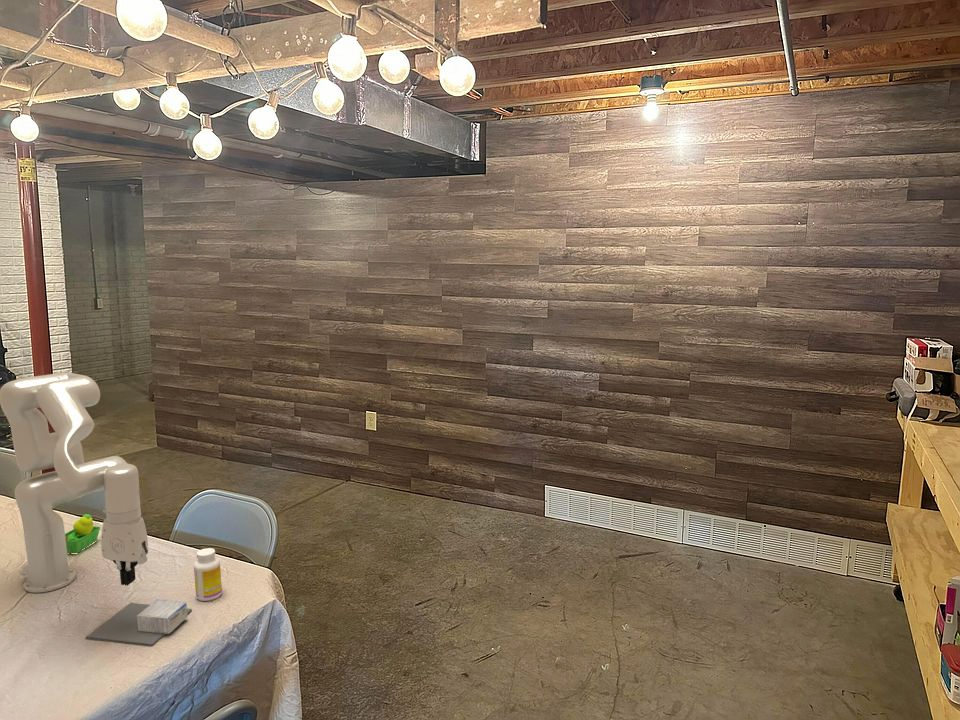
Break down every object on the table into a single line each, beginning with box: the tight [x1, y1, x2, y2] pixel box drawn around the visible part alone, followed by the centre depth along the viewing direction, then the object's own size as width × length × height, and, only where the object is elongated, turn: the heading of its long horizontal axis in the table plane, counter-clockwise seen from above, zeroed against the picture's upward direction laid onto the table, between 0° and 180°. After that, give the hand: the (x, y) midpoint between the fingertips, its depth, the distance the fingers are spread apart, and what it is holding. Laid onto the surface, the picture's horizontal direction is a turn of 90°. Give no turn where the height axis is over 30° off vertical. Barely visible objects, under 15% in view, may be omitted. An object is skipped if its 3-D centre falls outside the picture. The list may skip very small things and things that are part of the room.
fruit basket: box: [65, 513, 101, 554], centre depth 211 cm, size 11×9×11 cm
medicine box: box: [137, 598, 188, 635], centre depth 168 cm, size 8×4×9 cm
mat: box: [85, 602, 193, 647], centre depth 169 cm, size 18×16×1 cm
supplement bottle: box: [193, 547, 223, 602], centre depth 182 cm, size 7×7×13 cm
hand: (128, 582), depth 168 cm, fingers closed
